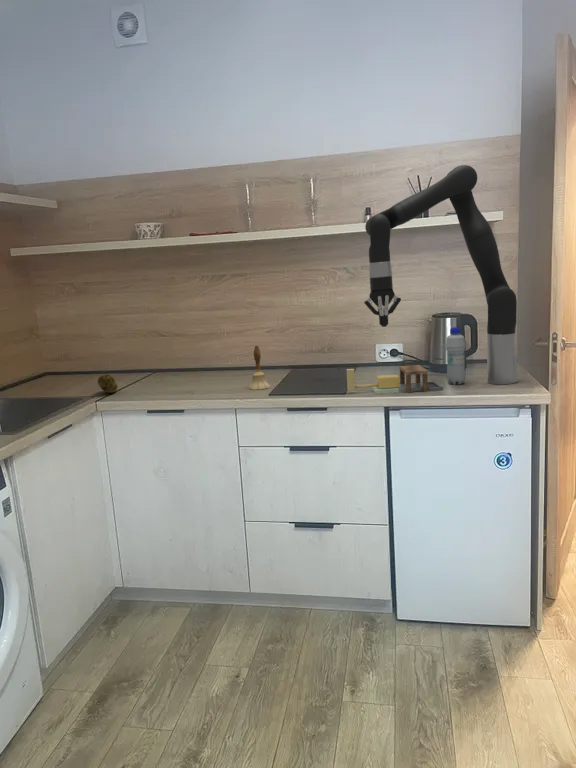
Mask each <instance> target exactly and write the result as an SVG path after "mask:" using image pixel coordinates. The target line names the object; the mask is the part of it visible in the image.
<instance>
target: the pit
mask: <svg viewBox="0 0 576 768" xmlns="http://www.w3.org/2000/svg"><path fill="white" fill-rule="evenodd" d="M420 382H421V381H420ZM421 383H423V381H422V382H421ZM443 389H444V387H443V386H442V385H440V384H439V383H437V381H428V392H434V391H443Z"/></svg>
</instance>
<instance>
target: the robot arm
mask: <svg viewBox="0 0 576 768" xmlns="http://www.w3.org/2000/svg"><path fill="white" fill-rule="evenodd" d="M477 183H478V173H477V171H476V170H475V168H473V167H472V166H471V165H467V164H463V165H458V166H455V167H454V168H453V169H451V170H450V171H449V172H448V173H447V174H446V176H444V177H443V178H442V179H440V180H439V181H437V182H435V183H434V184H432V185H430V186H428V187H426V188H424V189H423V190H420V191H418V192H417V193H414V194H412V195H411V196H409V197H406V198H404V199H402V200H400V201H399V202H396V203H395V204H393V205H392V206H391V207H389V208H387V209H385V210H383V211H380V212H379V213H377V214H375V215H372V216H371V217H369V218H368V219H367V221H366V223H365V225H364V227H365V231H366V233H367V235H368V236H369V241H370V242H369V243H370V245H369V248H368V261H369V268H368V270H369V271H368V272H369V287H370V294H369V295H368V296H369V297H367V299H366V300H364V301H363V304H364V305H365V306H366V307H367V308H368V309H369V310H370V312H372V314H373V315H374V316H375V315H376V316H378V319H379V320H378V321H379V325H380V326H381V327H382V328H384V327H387V326H388V325H389V315H391V314H392V313H394V311H395V310H396V308H397V307H398V305H399V304H400V302H401V301H402V299H401V297H399V296H397V295H395V292H394V288H393V287H394V286H393V270H392V262H391V252H390V241H391V230H393V229H395V228H396V227H398V226H401V225H403V224H406V223H408V222H410V221H412V220H414V219H416V218H417V217H419V216H421V215H422V214H423V213H425V212H427V211H428V210H430V209H431V208H433V207H435V206H436V205H438V204H440V203H442V202H443V201H445V200H448V199H449V201H450V202H451V203H450V204H451V205H452V207H453V210H454V212H455V214H456V217H457V220H458V223H459V226H460V230H461V232H462V235H463V238H464V241H465V244H466V248H467V250H468V253H469V256H470V259H471V260H472V262H473V265H474V266H475V269H476V270H477V272H478V274H479V277H480V280H481V282H482V287H483V290H484V291H483V292H484V294H485V299H486V304H487V305H486V306H487V326H486V329H487V330H486V331H487V332H486V333H487V336H486V341H487V342H486V345H487V348H486V352H487V353H486V355H487V358H486V359H487V361H486V362H487V364H486V365H487V366H486V367H487V369H486V370H487V371H486V372H487V373H486V374H487V376H486V377H487V381H486V382H487V383H488V384H491V385H511V384H515V382H516V383H518V355H517V354H516V326H517V313H518V309H517V308H518V306H517V305H518V304H517V302H518V301H517V294H516V293H515V291H514V290H513V289H511V287H510V286H509V283H508V282H507V278H506V277H505V275H504V272H503V270H502V269H503V268H502V264H501V260H500V259H501V257H500V253H499V249H498V248H499V247H498V243H497V240H496V237H495V235H494V232H493V229H492V227H491V226H490V224H489V221H488V220H487V219H486V218H485V216H484V215H483V214H482V212H481V211H480V209H479V208H478V206H477V204H476V200H475V197H474V195H473V190H474V188H475V187H476V185H477ZM391 302H393V303H392V304H391ZM372 303H373V304H374V305H375V306H376V308H377V310H376V308H375V307H374V306H373V305H372ZM390 304H391V306H390V307H389V305H390Z"/></svg>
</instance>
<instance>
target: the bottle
mask: <svg viewBox="0 0 576 768" xmlns="http://www.w3.org/2000/svg"><path fill="white" fill-rule="evenodd" d="M449 332H450V333H449V335H448V336H447V337H446V342H445V351H446V361H447V363H446V365H447V366H446V367H447V368H446V380H447V383H448V384H449V385H452V384H453V386H454V385H456V384H458V385H463V384H464V383H465V381H466V369H465V368H466V367H465V364H466V363H465V351H466V340H465V336H464V335H462V334H461V329H460V328H459V327H456V326H454V327H451V328H450V330H449Z"/></svg>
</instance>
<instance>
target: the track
mask: <svg viewBox="0 0 576 768" xmlns="http://www.w3.org/2000/svg"><path fill="white" fill-rule="evenodd" d="M399 384H400V383H399ZM371 390H372V391H373V392H374V394H375V395H380V394H381V393H382V394H392V393H394V392H396V393H407V392H406V383H405V384H400V387H393V388H378V387H371ZM421 391H422V392H423V383H416V382H411V392H421Z"/></svg>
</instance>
